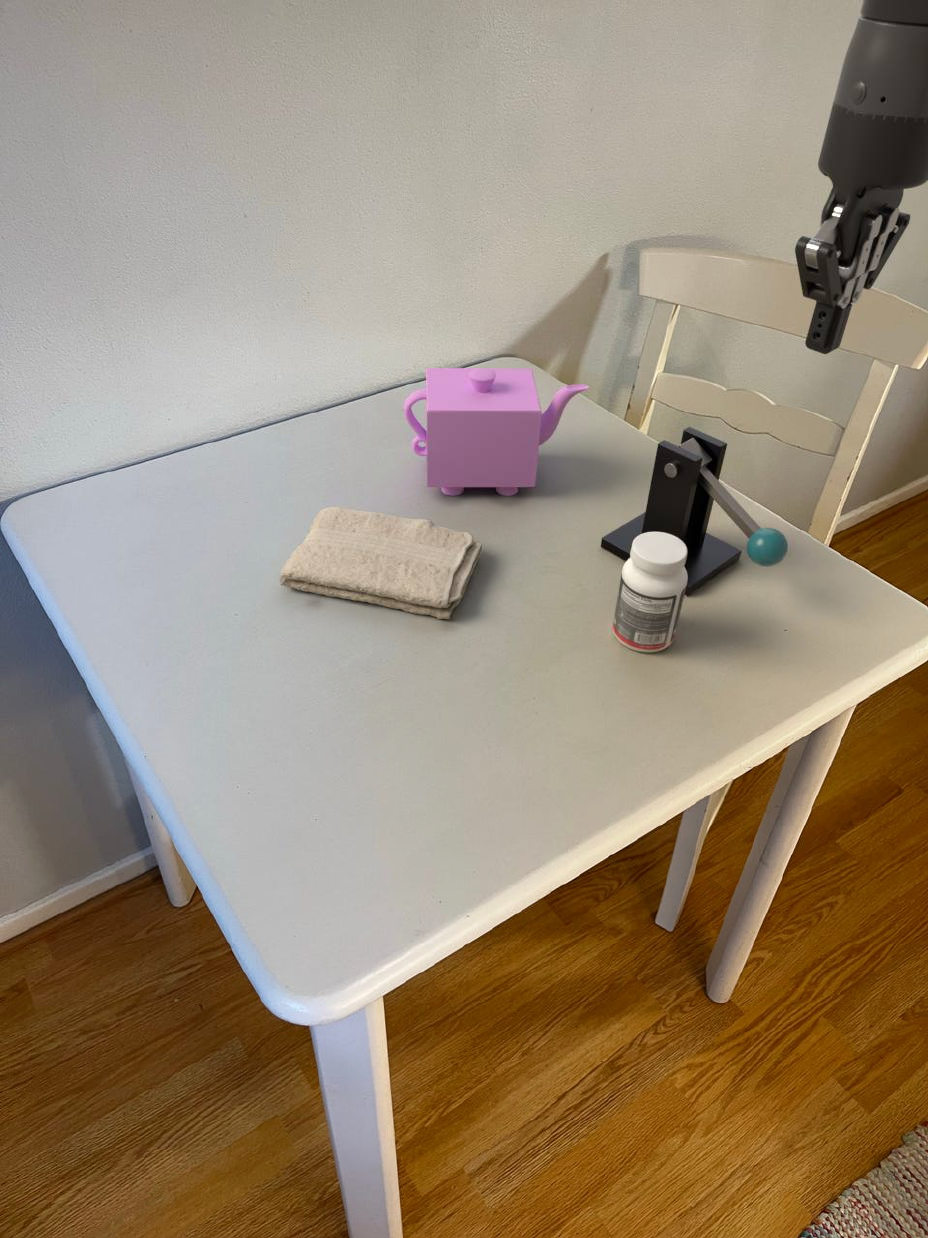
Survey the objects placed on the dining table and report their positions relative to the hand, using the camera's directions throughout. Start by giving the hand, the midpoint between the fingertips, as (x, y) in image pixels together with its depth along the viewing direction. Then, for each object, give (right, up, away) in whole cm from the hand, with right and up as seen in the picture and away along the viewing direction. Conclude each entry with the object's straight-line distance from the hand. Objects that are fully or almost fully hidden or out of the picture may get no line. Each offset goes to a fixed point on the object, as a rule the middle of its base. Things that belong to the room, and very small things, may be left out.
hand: (821, 348), depth 71 cm
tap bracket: (-7, -15, +21) cm, 27 cm away
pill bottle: (-12, -23, +12) cm, 28 cm away
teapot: (-25, -5, +32) cm, 41 cm away
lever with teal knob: (-4, -12, +15) cm, 19 cm away
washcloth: (-36, -17, +18) cm, 44 cm away
